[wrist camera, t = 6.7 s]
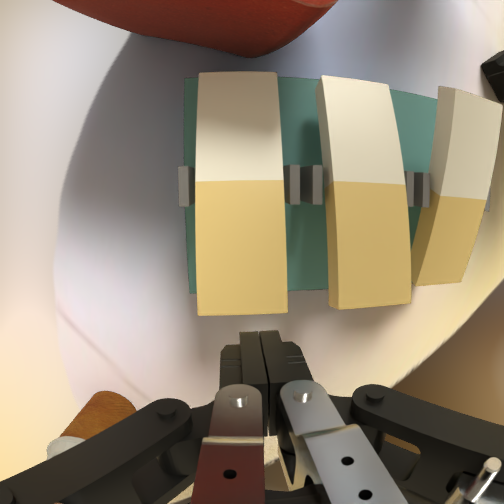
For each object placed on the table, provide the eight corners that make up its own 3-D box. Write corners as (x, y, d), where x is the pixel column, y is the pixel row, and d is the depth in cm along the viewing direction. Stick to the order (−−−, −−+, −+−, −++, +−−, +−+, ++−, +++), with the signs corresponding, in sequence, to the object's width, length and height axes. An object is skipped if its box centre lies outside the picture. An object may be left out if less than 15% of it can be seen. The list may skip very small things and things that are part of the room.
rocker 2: (314, 89, 20) (321, 75, 18) (377, 96, 21) (388, 84, 19) (328, 305, 20) (338, 309, 18) (396, 300, 20) (411, 302, 18)
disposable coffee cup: (94, 366, 32) (52, 433, 20) (163, 408, 34) (145, 485, 22) (71, 408, 33) (36, 470, 21) (132, 445, 35) (112, 512, 23)
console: (192, 94, 26) (173, 54, 16) (426, 111, 28) (488, 94, 18) (196, 279, 30) (180, 326, 20) (422, 270, 32) (479, 302, 22)
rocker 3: (438, 85, 17) (455, 88, 15) (485, 100, 17) (502, 105, 15) (405, 272, 24) (415, 286, 23) (449, 269, 25) (460, 282, 23)
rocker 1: (201, 87, 20) (198, 72, 18) (273, 87, 20) (276, 72, 18) (201, 310, 19) (197, 315, 17) (282, 308, 20) (287, 312, 18)
